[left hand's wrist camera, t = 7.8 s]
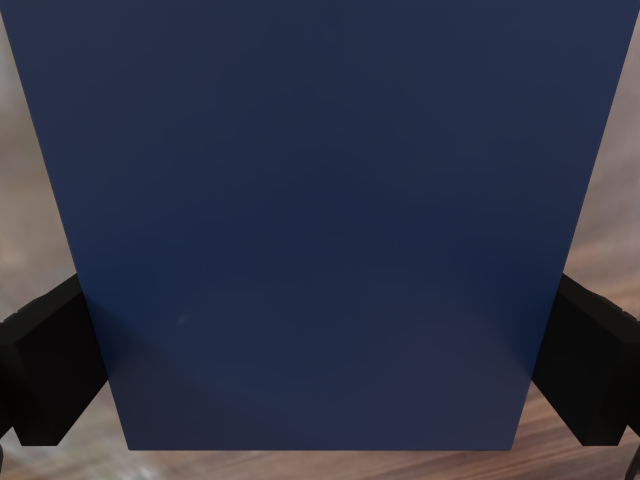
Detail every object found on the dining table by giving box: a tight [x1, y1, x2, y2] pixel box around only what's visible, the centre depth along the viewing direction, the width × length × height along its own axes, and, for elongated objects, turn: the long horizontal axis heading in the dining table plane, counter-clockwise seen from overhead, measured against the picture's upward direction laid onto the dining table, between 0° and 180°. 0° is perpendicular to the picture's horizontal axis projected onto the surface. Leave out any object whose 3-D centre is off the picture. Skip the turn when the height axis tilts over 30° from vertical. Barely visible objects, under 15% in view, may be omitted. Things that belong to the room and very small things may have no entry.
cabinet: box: [0, 0, 640, 451], centre depth 12 cm, size 15×11×11 cm
